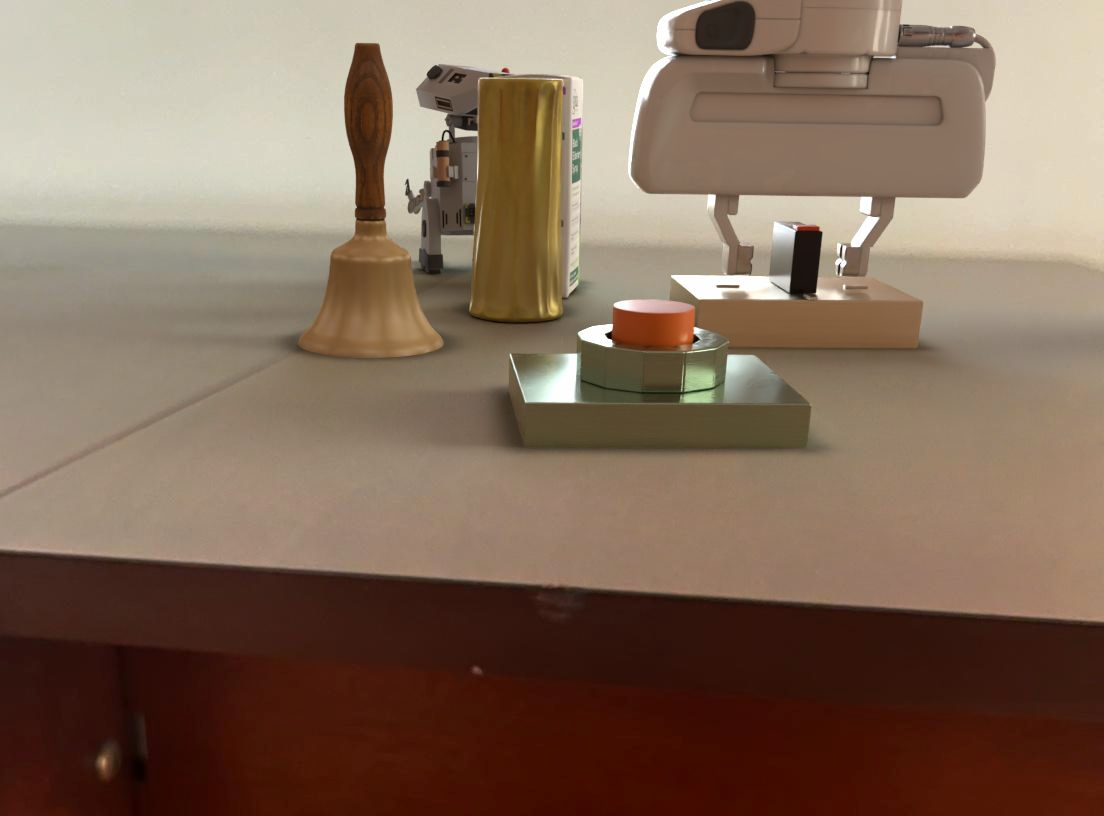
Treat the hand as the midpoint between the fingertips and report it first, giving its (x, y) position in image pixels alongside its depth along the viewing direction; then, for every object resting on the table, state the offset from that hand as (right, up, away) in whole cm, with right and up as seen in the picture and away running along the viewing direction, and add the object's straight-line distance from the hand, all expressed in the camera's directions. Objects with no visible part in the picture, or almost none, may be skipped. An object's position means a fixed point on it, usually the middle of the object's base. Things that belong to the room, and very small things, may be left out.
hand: (793, 275), depth 79 cm
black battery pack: (0, -1, 0) cm, 1 cm away
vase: (-16, -1, +7) cm, 18 cm away
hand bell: (-25, -5, -4) cm, 26 cm away
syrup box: (-15, +3, +16) cm, 22 cm away
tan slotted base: (0, -3, +1) cm, 4 cm away
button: (-11, -8, -20) cm, 24 cm away
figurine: (-20, +7, +27) cm, 34 cm away
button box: (-11, -11, -19) cm, 24 cm away
